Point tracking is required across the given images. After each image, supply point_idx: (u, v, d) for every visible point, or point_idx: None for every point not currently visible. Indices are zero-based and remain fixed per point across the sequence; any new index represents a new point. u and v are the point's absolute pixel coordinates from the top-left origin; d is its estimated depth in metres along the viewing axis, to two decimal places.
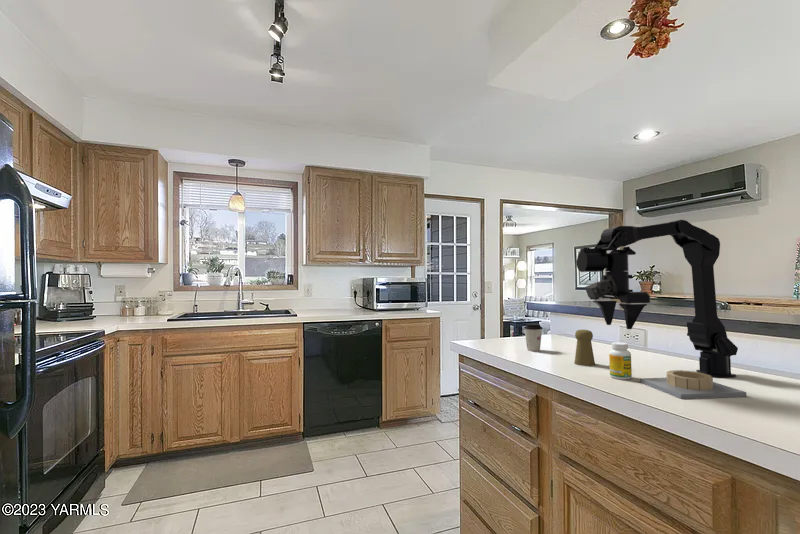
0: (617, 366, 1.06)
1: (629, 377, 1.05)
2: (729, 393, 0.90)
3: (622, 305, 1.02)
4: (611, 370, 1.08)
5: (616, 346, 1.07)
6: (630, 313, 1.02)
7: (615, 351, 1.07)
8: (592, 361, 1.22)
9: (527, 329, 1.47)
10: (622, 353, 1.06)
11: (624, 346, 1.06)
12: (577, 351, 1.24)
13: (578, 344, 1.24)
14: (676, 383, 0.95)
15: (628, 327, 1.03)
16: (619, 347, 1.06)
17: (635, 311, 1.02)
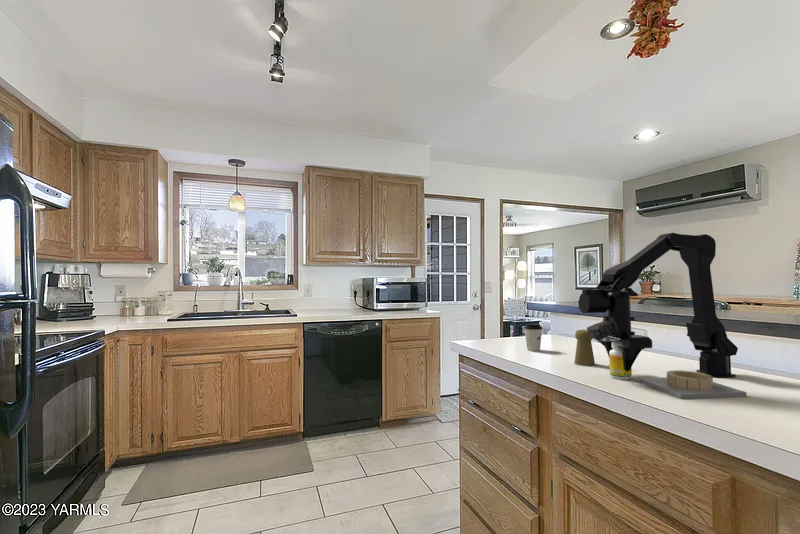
0: (617, 366, 1.06)
1: (629, 377, 1.05)
2: (729, 393, 0.90)
3: (620, 348, 1.03)
4: (611, 370, 1.08)
5: (616, 345, 1.07)
6: (628, 355, 1.04)
7: (615, 351, 1.07)
8: (592, 361, 1.22)
9: (527, 329, 1.47)
10: None
11: None
12: (577, 351, 1.24)
13: (578, 344, 1.24)
14: (676, 383, 0.95)
15: (626, 369, 1.05)
16: None
17: (633, 353, 1.04)
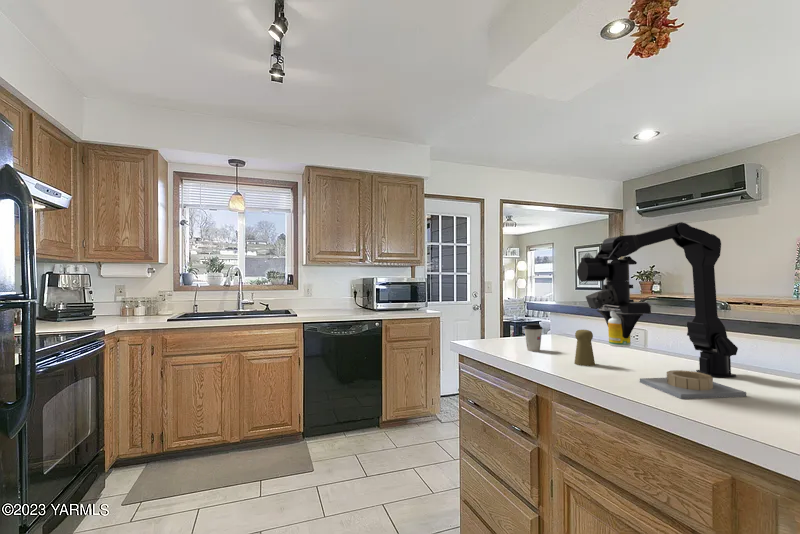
0: (616, 334, 1.06)
1: (628, 344, 1.06)
2: (729, 393, 0.90)
3: (619, 315, 1.04)
4: (610, 338, 1.08)
5: (615, 314, 1.07)
6: (627, 322, 1.04)
7: (614, 319, 1.07)
8: (592, 361, 1.22)
9: (527, 329, 1.47)
10: (620, 321, 1.06)
11: None
12: (577, 351, 1.24)
13: (578, 344, 1.24)
14: (676, 383, 0.95)
15: (625, 336, 1.05)
16: None
17: (632, 321, 1.04)
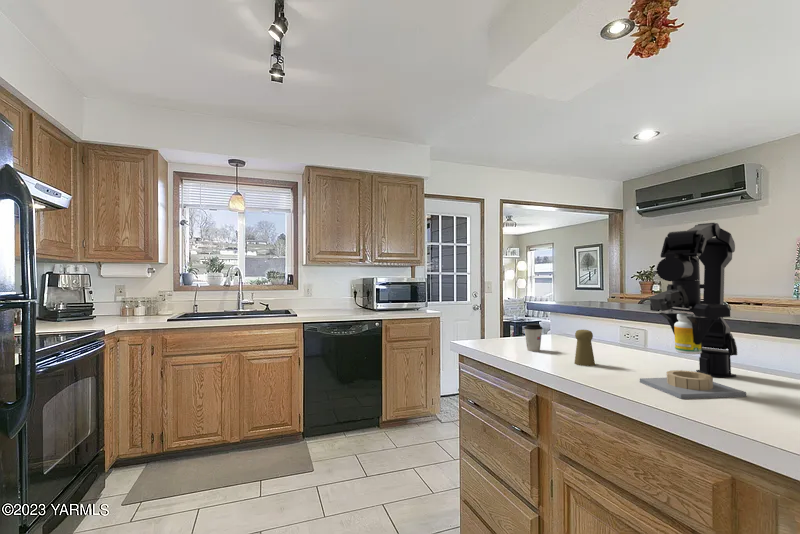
0: (685, 339, 0.95)
1: (699, 351, 0.94)
2: (729, 393, 0.90)
3: (691, 318, 0.92)
4: (677, 344, 0.97)
5: (683, 317, 0.96)
6: (699, 327, 0.93)
7: (682, 323, 0.96)
8: (592, 361, 1.22)
9: (527, 329, 1.47)
10: (691, 325, 0.94)
11: None
12: (577, 351, 1.24)
13: (578, 344, 1.24)
14: (676, 383, 0.95)
15: (696, 342, 0.94)
16: (687, 318, 0.95)
17: (705, 325, 0.93)
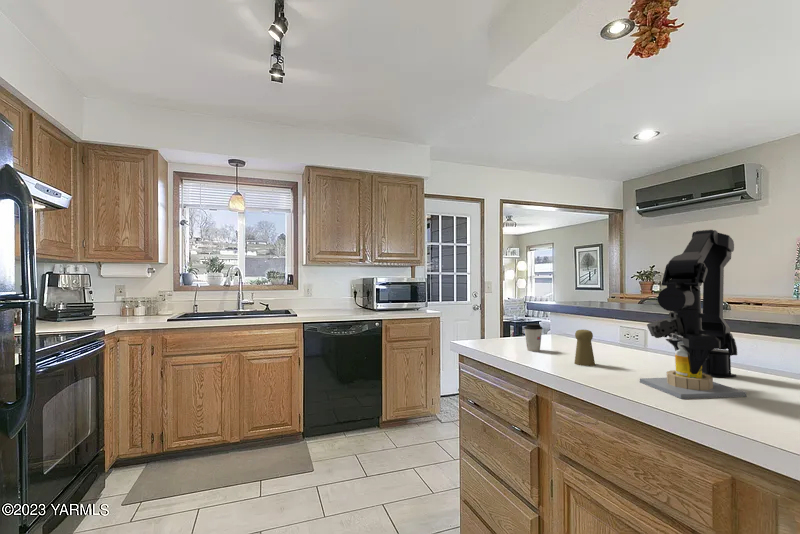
0: (682, 368, 0.95)
1: None
2: (729, 393, 0.90)
3: (683, 347, 0.93)
4: (676, 372, 0.97)
5: None
6: (694, 356, 0.93)
7: (680, 351, 0.96)
8: (592, 361, 1.22)
9: (527, 329, 1.47)
10: None
11: None
12: (577, 351, 1.24)
13: (578, 344, 1.24)
14: (676, 383, 0.95)
15: (692, 371, 0.94)
16: None
17: (700, 355, 0.92)
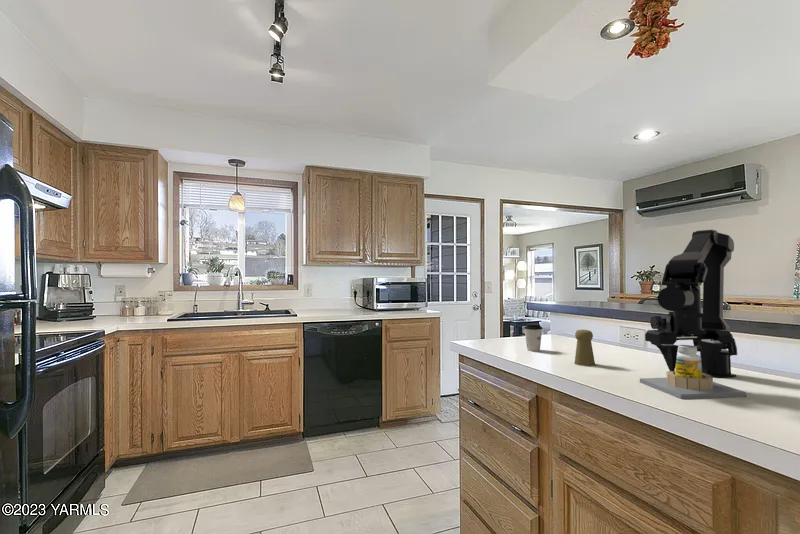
0: None
1: None
2: (729, 393, 0.90)
3: None
4: None
5: None
6: (665, 353, 0.97)
7: (678, 353, 0.99)
8: (592, 361, 1.22)
9: (527, 329, 1.47)
10: None
11: (679, 348, 0.97)
12: (577, 351, 1.24)
13: (578, 344, 1.24)
14: (676, 383, 0.95)
15: (669, 368, 0.97)
16: None
17: (668, 352, 0.95)
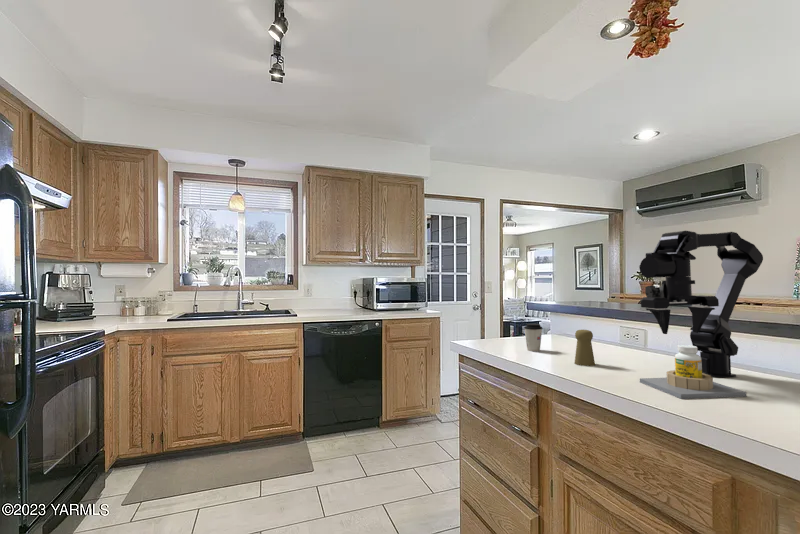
0: (675, 368, 0.98)
1: None
2: (729, 393, 0.90)
3: None
4: None
5: None
6: (659, 318, 1.06)
7: (678, 353, 0.99)
8: (592, 361, 1.22)
9: (527, 329, 1.47)
10: (676, 355, 0.97)
11: (679, 348, 0.97)
12: (577, 351, 1.24)
13: (578, 344, 1.24)
14: (676, 383, 0.95)
15: (662, 331, 1.06)
16: None
17: (662, 316, 1.05)
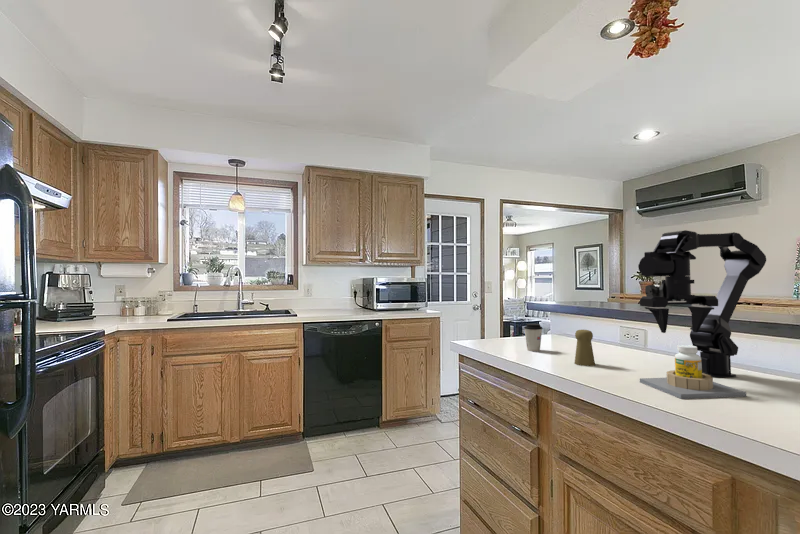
0: (675, 368, 0.98)
1: None
2: (729, 393, 0.90)
3: None
4: None
5: None
6: (658, 317, 1.07)
7: (678, 353, 0.99)
8: (592, 361, 1.22)
9: (527, 329, 1.47)
10: (676, 355, 0.97)
11: (679, 348, 0.97)
12: (577, 351, 1.24)
13: (578, 344, 1.24)
14: (676, 383, 0.95)
15: (661, 330, 1.07)
16: None
17: (660, 315, 1.06)
